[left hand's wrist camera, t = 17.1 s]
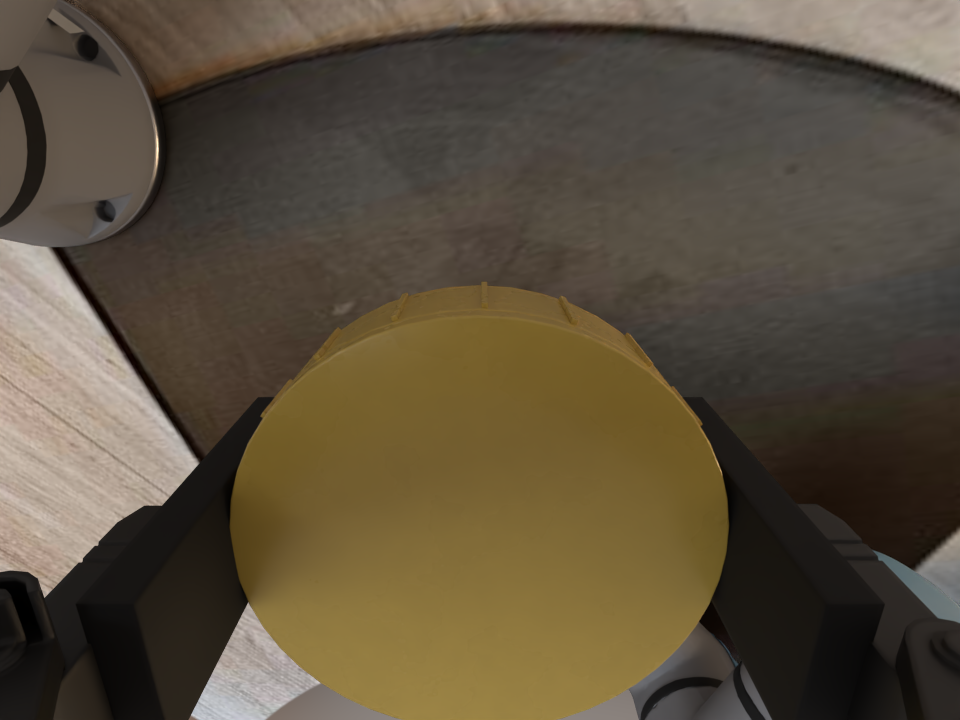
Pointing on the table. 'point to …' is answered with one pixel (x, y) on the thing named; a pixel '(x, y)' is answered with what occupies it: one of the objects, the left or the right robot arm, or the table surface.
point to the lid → (479, 510)
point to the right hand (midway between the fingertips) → (382, 381)
